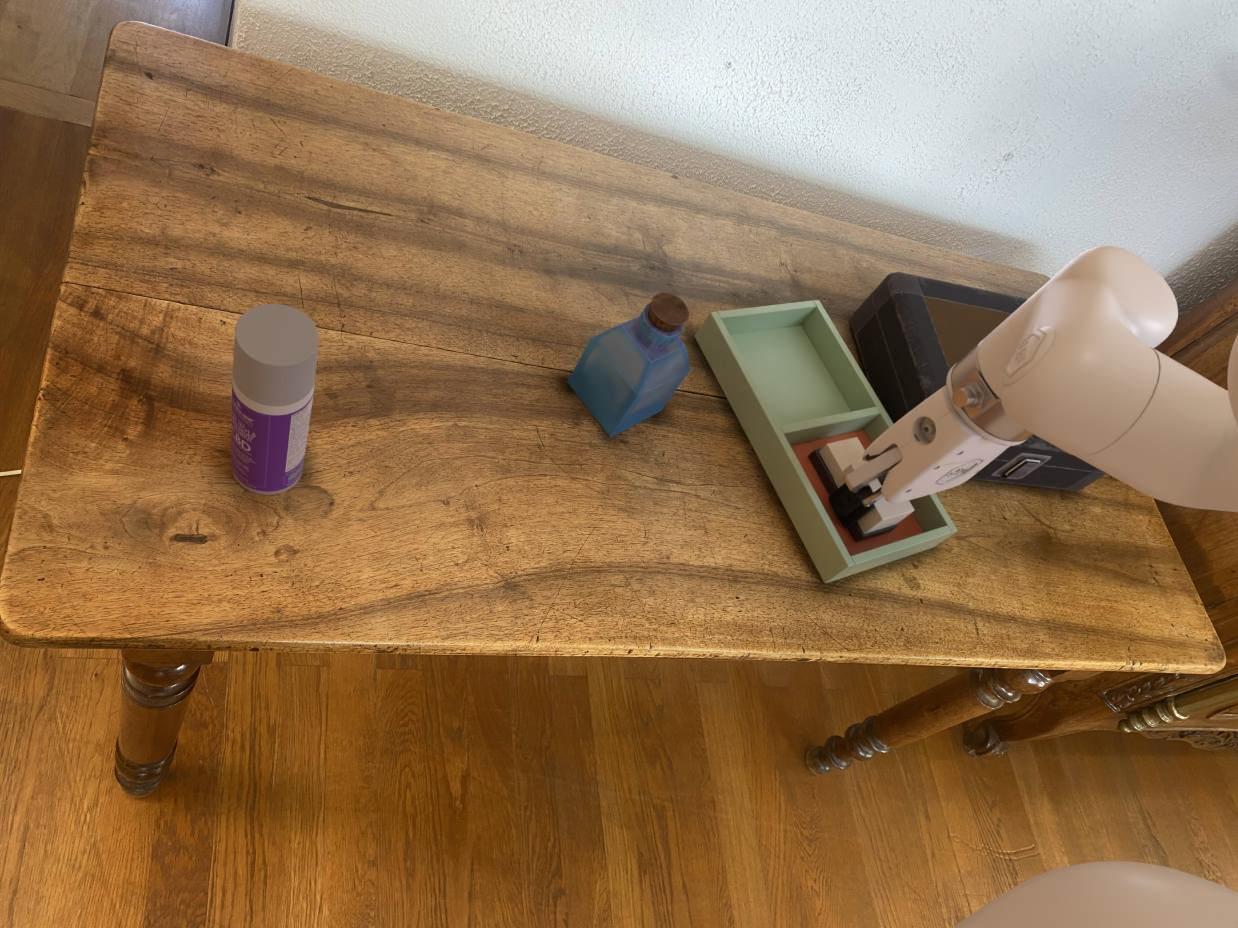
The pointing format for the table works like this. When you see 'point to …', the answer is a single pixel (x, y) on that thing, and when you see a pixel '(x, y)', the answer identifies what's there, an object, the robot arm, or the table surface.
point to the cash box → (948, 364)
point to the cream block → (847, 458)
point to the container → (272, 396)
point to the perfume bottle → (634, 365)
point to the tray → (809, 424)
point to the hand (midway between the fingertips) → (860, 505)
